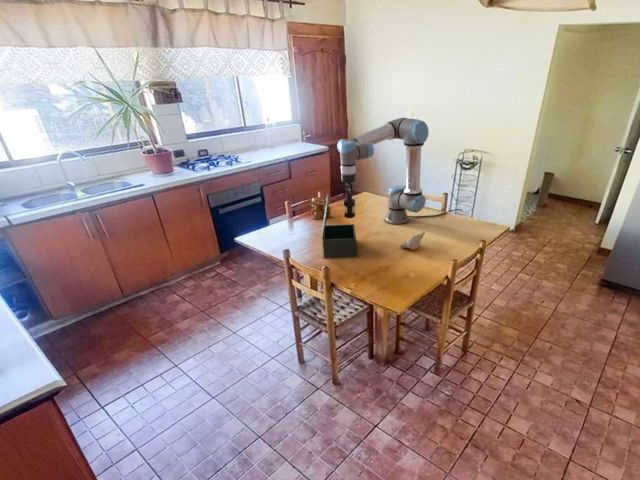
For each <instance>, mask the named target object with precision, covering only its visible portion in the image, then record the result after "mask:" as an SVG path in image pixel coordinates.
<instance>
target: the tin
mask: <svg viewBox="0 0 640 480" xmlns="http://www.w3.org/2000/svg"><path fill="white" fill-rule="evenodd" d="M346 206H347V199H346V198H345V199H343V214H344V215H343V217H344V218H346V219H349V218H348V217H347V207H346ZM355 217H356V199H354V198H352V218H351V219H354V218H355Z"/></svg>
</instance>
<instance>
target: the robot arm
mask: <svg viewBox="0 0 640 480" xmlns="http://www.w3.org/2000/svg"><path fill="white" fill-rule="evenodd" d="M428 137H429V126H428V124H427V123H426V122H425V121H424V120H422V119H421V120H420V119H416V118H408V117H399V118H395V119H392V120H389V121H387V122H385V123H384V124H383V125H382V126H379V127H377V128H374V129H372V130H368V131H366V132H364V133H362V134H359V135H356V136H354V137H351V138H349V139H346V138H341V139H339V140H338V142H337V144H336V149H337V151H338V153H339V156H340V167H339V169H340V179H341V182H342V183H344V189H345V195H346V198H345V199H347V206H346V207H347V217H348V218H347V219H353V218H352V199H353V188H354V187H353V183H355V182H356V180H357V177H356V176H357V175H356V172H357V171H356V161H360V160H367V159H369V158H371V157H373V156H374V153H375V148H374V145H377V144H379V143H382V142H384V141H387V140H388V141H392V140H396V139H398V140H402V141H403V146H404V147H405V149H406V153H405V154H406V156H405V157H406V158H405V161H406V162H405V185H394V186H390V187H389V189H388V196H387V198H388V202H387V203H388V205H387V206H388V207H387V212H386V215H385V219H384V220H385V222H386V223H388V224H390V225H404V224H406V223H407V222H408V220H409V218H415V219H416V218H418V219H419V218H430V217H438V216H442V215H444V214H447V213H450V212H456V211H460V212H464V211H463V210H462V209H461V208H455V209H451V210H447V211H444V212H441V213H438V214H435V215H433V214H432V215H419V216H418V215H417V216H414V215H413V216H412V215H408V213H407V211H408V212H411V213H420V212H421V211H422V210H423V208H424V207H425V205H426V203H427V199H426V196H425V195H423V189H422V188H421V163H422V162H421V161H422V159H421V158H422V147H423V146H424V145H425V142H426V141H428ZM446 212H447V213H446Z"/></svg>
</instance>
